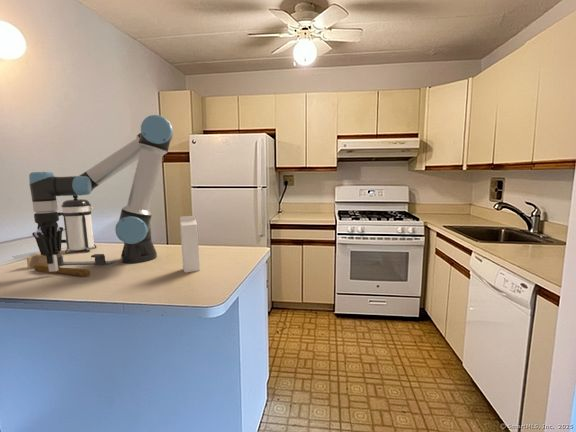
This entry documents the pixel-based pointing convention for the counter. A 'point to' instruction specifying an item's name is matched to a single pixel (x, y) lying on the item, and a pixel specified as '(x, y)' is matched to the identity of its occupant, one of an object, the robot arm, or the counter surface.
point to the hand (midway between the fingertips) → (53, 270)
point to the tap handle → (62, 270)
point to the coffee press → (77, 224)
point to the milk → (189, 243)
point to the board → (42, 260)
